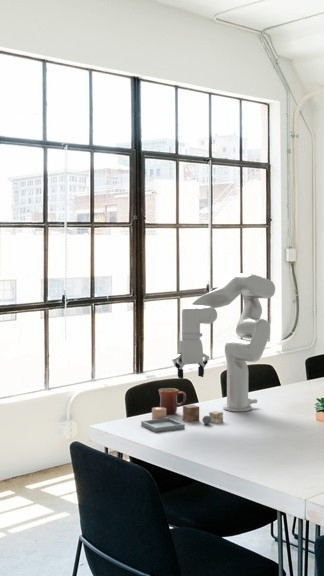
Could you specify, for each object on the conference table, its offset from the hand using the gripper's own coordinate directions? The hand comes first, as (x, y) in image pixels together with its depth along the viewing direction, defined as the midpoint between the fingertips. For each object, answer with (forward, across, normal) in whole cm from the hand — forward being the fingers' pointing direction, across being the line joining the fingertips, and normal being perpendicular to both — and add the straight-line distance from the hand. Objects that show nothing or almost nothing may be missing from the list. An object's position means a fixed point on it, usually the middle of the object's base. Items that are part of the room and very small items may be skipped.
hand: (190, 377), depth 300 cm
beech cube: (+18, -8, +7) cm, 21 cm away
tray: (+18, +16, +5) cm, 25 cm away
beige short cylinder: (+18, +12, -6) cm, 23 cm away
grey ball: (+16, -2, +10) cm, 19 cm away
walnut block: (+18, 0, 0) cm, 18 cm away
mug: (+18, +1, -15) cm, 24 cm away
